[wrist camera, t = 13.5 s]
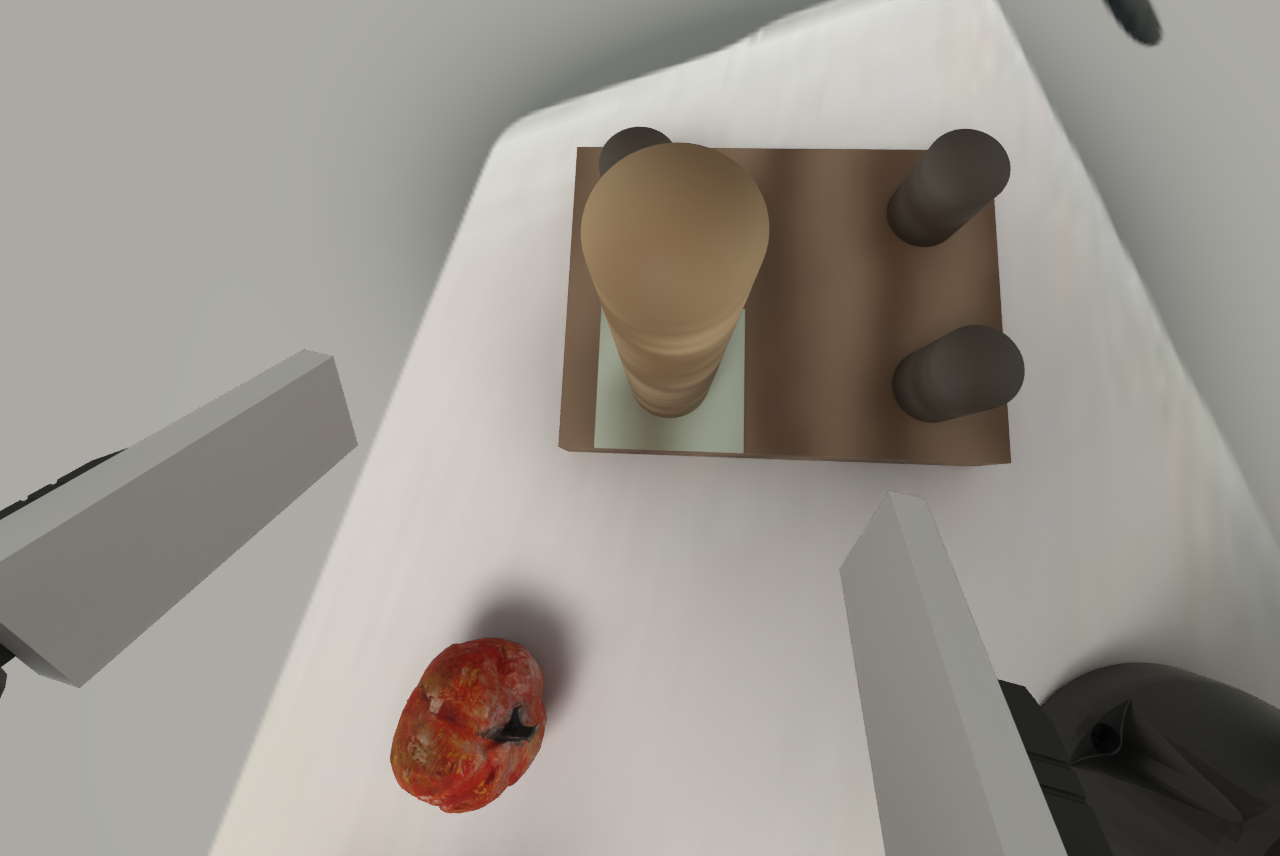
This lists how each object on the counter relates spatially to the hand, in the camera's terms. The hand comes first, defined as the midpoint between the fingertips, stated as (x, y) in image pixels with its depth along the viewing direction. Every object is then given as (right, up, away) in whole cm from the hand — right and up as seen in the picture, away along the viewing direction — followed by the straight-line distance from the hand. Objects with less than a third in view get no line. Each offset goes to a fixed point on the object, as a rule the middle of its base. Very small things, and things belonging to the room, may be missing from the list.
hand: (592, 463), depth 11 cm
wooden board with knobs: (+9, +8, +18) cm, 22 cm away
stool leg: (+3, +4, +15) cm, 15 cm away
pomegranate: (-7, -14, +16) cm, 23 cm away
